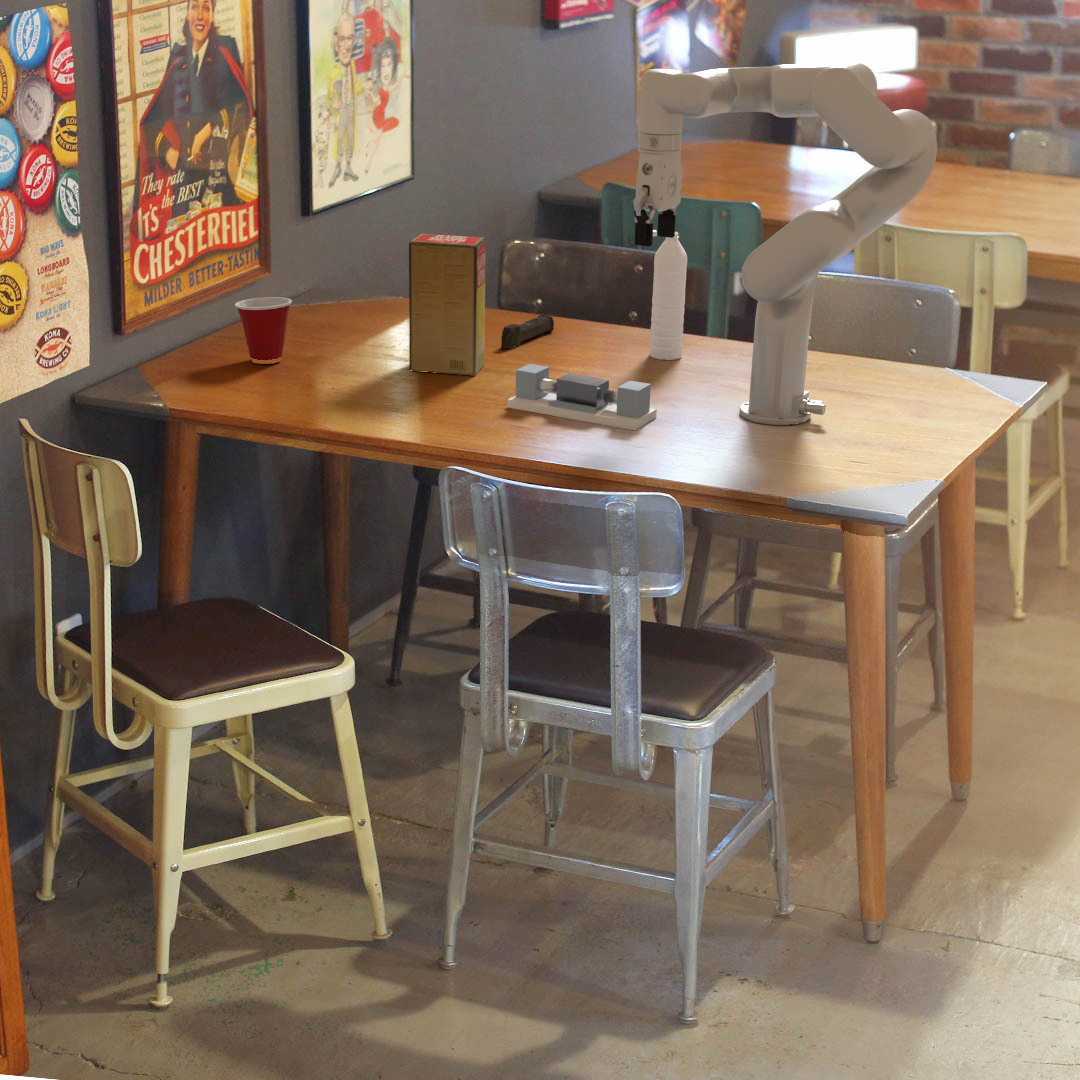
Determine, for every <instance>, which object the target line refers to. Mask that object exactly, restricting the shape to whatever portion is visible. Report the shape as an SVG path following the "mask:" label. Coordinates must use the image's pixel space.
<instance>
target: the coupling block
mask: <svg viewBox="0 0 1080 1080" xmlns="http://www.w3.org/2000/svg"><path fill="white" fill-rule="evenodd" d="M556 381H557V393H556V400H558V401H563V402H569V403H575V404H580V405H586V406H592V407H597V410H599V409H601V408H603V407H605V406H607V405H608V403H605V402H604V393H605V391H606V390H607V389H608V390H610V380H609V379H606V378H605V379H604V378H599V377H593V376H588V375H582V374H581V375H580V374H575V373H566V374H565V375H563V376H560V377H558V378H557V379H556Z"/></svg>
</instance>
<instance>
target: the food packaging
mask: <svg viewBox="0 0 1080 1080" xmlns="http://www.w3.org/2000/svg"><path fill="white" fill-rule="evenodd" d="M486 251H487V238H486V237H484V236H464V235H449V234H448V235H446V234H430V233H419V234H418V235H416V236H415V237H413V238H412V239H411V240H410V241H409V242H408V298H409V299H408V300H409V301H408V303H409V304H408V305H409V307H408V308H409V309H408V310H409V321H408V323H409V331H408V332H409V333H408V334H409V336H408V337H409V342H408V343H409V347H408V348H409V356H408V357H409V363H408V364H409V365H408V366H409V367H408V368H409V370H412V371H428V372H436V373H448V374H447V375H449V374H459V375H458V376H462V375H470V376H469V377H476V376H477V374H478V373H479V372H480V371H481V369H482V368H483V367H484V366H485V345H486V344H485V339H486V338H485V337H486V331H485V330H486V329H485V328H486V324H485V323H486V271H487V270H486V265H487V264H486V263H487V261H486V260H487V259H486V258H487V257H486V256H487V255H486V254H487V252H486ZM482 366H483V367H482Z"/></svg>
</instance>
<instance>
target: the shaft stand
mask: <svg viewBox="0 0 1080 1080" xmlns="http://www.w3.org/2000/svg"><path fill="white" fill-rule="evenodd" d="M549 378H550V367H549V366H545V365H540V364H539V365H538V364H533V363H528V364H526V365H523V366H522V367H519V368H517V369H516V371H515V395H514V396H511V397H509V398H508V399H507V408H509V409H513V410H520V411H525V412H531V413H535V414H542V415H546V416H547V415H548V416H552V417H557V418H558V417H559V418H565V419H568V420H574V421H580V422H585V423H591V424H598V425H602V426H607V427H614V428H619V429H624V430H630V431H637V430H638V429H640V428H641V427H643V426H644V425H646V424H648V423H650V422H651V421H653V420H655V419H656V418H657V412H658V411H657V408H653V407H650V405H651V389H652V388H651V387H652V384H651V383H648V382H640V381H637V380H636V381H635V380H628V381H626V382H625V383H622V384H621V385H619V386H618V387H617V390H613V389H609V390H608V389H607V390H606V391H605V393H604V402H605V403H608V405H607V406H605V407H603V408H601V409H599V410H597V407H592V406H586V405H580V404H575V403H569V402H563V401H558V400H556V393H557V380H555V379H549Z"/></svg>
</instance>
